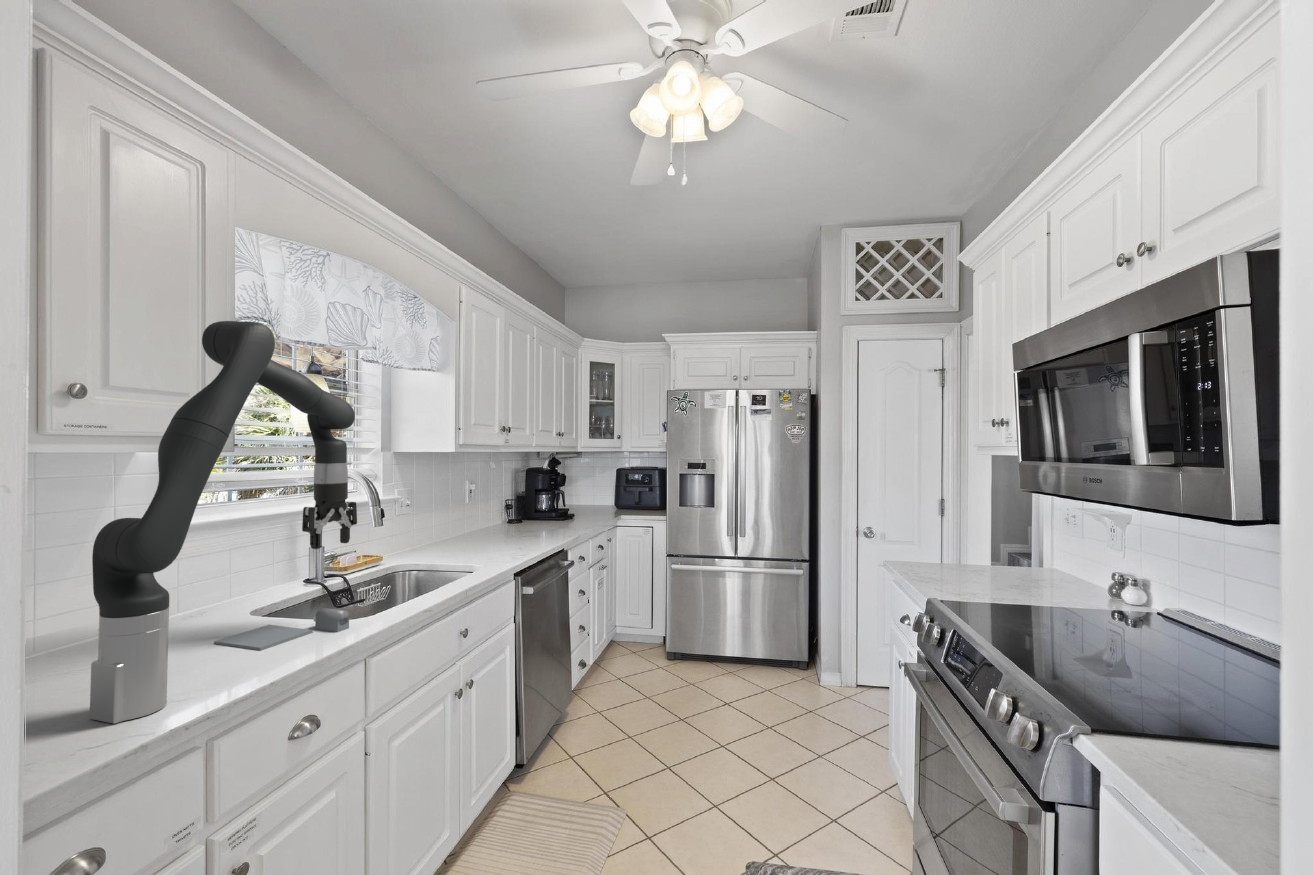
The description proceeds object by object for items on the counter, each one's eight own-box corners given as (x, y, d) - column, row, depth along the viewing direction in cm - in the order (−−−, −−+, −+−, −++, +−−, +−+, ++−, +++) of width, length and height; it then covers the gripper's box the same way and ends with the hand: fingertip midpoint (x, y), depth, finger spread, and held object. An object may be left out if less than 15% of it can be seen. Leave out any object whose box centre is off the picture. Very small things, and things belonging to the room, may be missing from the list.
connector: (337, 632, 149) (338, 612, 149) (311, 629, 152) (311, 609, 152) (348, 628, 153) (349, 608, 153) (323, 625, 155) (323, 606, 155)
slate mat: (260, 650, 135) (260, 647, 135) (214, 643, 139) (214, 641, 139) (312, 632, 149) (312, 630, 149) (268, 626, 153) (268, 624, 153)
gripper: (317, 483, 143) (317, 552, 143) (365, 479, 157) (364, 542, 157) (294, 482, 146) (294, 549, 146) (342, 478, 159) (342, 540, 159)
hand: (330, 545), depth 151 cm, fingers open, 8 cm apart
